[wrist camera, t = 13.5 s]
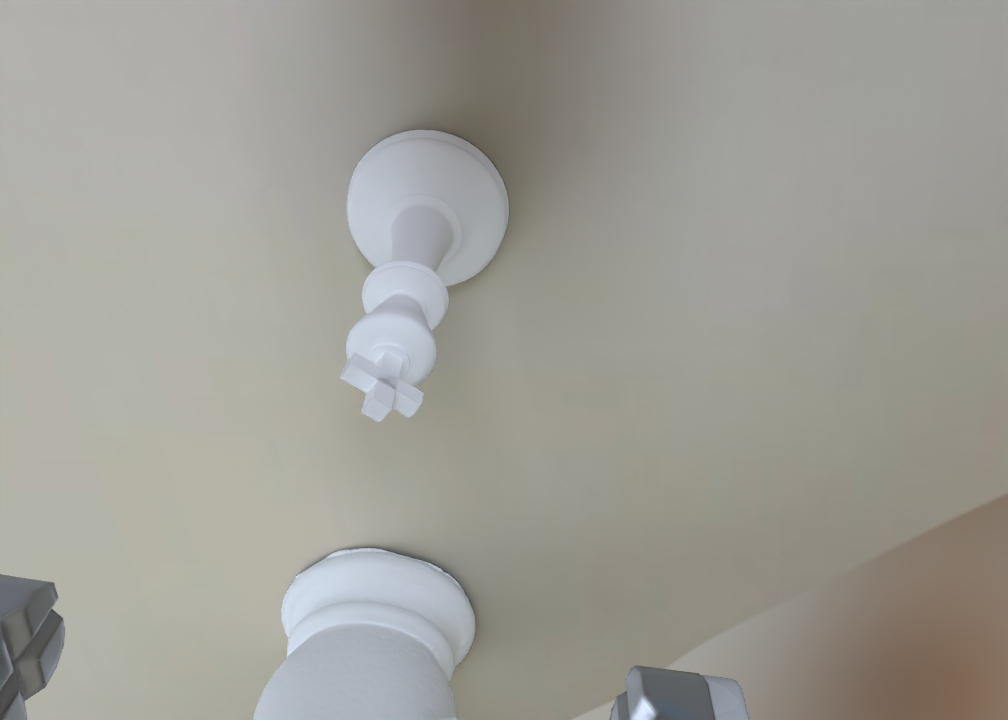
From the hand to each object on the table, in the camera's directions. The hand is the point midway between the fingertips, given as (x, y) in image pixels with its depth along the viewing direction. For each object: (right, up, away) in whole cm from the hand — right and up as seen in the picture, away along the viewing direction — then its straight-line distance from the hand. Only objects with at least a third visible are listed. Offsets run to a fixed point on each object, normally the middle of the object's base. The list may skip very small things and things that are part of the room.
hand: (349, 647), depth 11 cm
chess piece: (0, +9, +13) cm, 15 cm away
